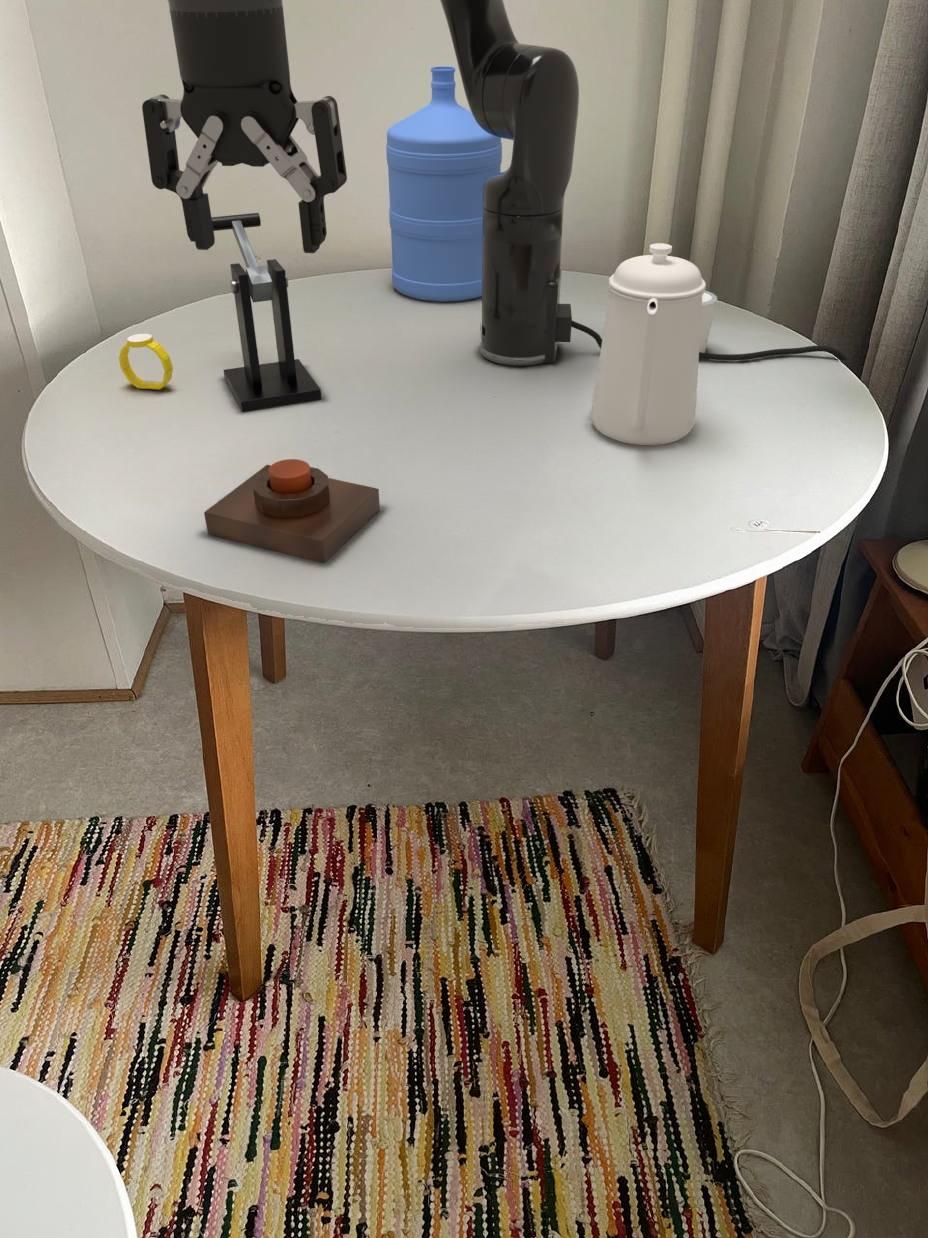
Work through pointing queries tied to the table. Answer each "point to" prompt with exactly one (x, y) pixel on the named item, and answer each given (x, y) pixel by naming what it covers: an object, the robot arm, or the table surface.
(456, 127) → the water jug
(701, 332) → the white cup
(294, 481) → the button
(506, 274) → the robot arm
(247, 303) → the bracket
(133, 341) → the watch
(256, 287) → the lever
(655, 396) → the coffeepot
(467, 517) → the table surface
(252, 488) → the button block
